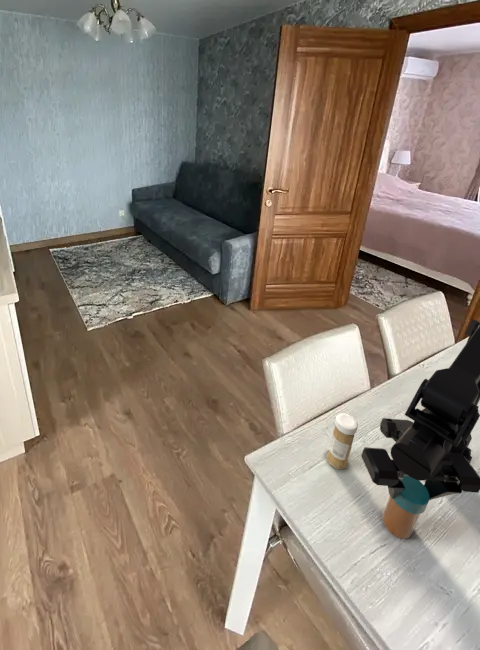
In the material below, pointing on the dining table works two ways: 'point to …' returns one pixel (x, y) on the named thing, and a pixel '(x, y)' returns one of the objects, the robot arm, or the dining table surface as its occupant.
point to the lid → (413, 496)
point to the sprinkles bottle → (342, 440)
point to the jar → (398, 520)
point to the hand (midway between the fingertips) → (407, 497)
